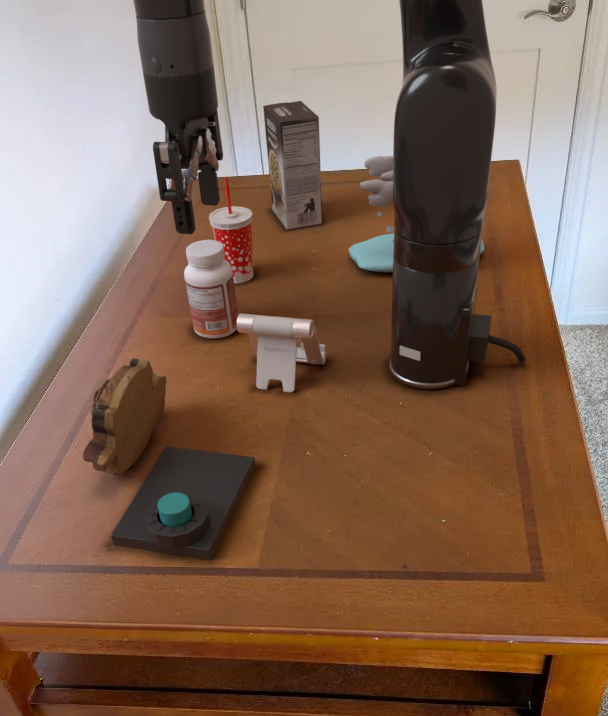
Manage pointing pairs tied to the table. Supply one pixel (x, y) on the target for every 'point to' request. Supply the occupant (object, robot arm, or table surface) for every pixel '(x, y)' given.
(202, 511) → the black push button board
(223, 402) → the table surface
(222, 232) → the beverage cup
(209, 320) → the pill bottle
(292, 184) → the coffee box
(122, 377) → the wooden carving
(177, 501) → the tare button
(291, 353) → the tablet stand
